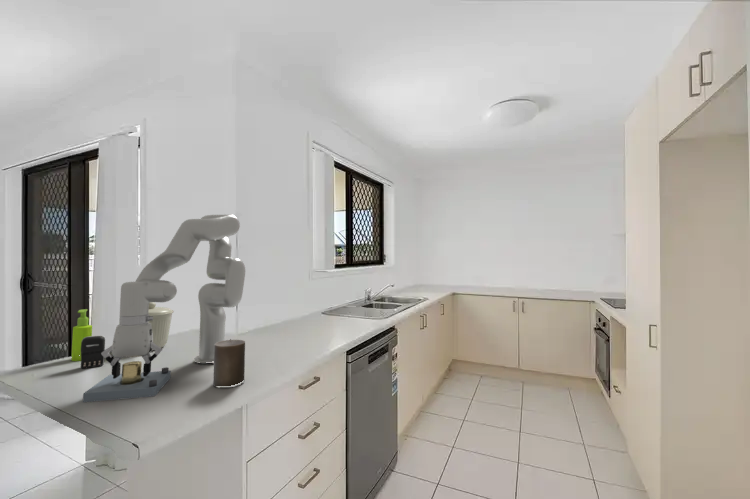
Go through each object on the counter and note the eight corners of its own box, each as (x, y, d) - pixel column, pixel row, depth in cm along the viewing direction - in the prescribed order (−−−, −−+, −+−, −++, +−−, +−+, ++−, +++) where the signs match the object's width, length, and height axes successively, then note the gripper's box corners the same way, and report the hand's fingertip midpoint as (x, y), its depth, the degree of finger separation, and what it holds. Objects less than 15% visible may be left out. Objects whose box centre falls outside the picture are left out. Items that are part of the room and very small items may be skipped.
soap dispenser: (68, 362, 129) (70, 311, 130) (74, 357, 136) (76, 308, 136) (87, 360, 132) (89, 310, 133) (92, 356, 138) (94, 308, 139)
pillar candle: (249, 383, 112) (250, 339, 113) (219, 391, 105) (221, 343, 106) (237, 376, 119) (238, 334, 120) (208, 383, 112) (210, 338, 113)
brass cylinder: (143, 385, 109) (144, 360, 109) (137, 391, 104) (138, 365, 104) (125, 386, 107) (126, 361, 108) (118, 392, 103) (119, 366, 103)
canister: (119, 355, 140) (121, 305, 141) (130, 344, 157) (133, 300, 157) (168, 351, 147) (170, 304, 148) (175, 341, 164) (176, 299, 165)
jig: (170, 377, 116) (170, 366, 116) (154, 396, 101) (155, 382, 101) (109, 382, 111) (109, 370, 111) (82, 402, 95) (83, 388, 95)
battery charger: (79, 370, 121) (80, 338, 122) (80, 367, 124) (81, 336, 125) (103, 366, 125) (105, 336, 126) (104, 364, 129) (105, 334, 129)
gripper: (168, 317, 112) (166, 370, 112) (107, 319, 107) (104, 374, 107) (161, 321, 105) (158, 377, 105) (95, 323, 100) (92, 382, 100)
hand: (131, 375), depth 106 cm, fingers open, 7 cm apart
